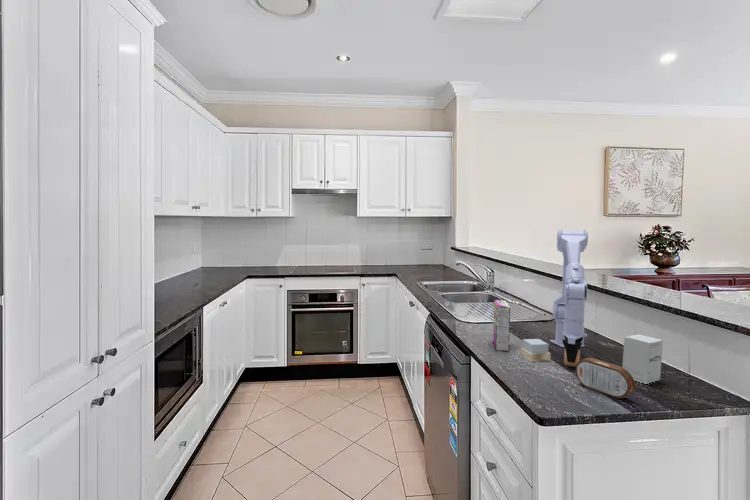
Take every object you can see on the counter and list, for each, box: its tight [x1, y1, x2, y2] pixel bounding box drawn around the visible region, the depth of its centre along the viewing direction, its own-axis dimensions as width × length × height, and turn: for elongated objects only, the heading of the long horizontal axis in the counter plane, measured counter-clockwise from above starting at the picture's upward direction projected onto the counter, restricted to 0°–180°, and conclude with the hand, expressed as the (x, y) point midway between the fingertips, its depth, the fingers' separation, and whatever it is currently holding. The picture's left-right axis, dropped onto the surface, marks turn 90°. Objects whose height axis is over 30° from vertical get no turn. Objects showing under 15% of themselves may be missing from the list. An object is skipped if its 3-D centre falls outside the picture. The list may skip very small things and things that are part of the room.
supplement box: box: [621, 333, 664, 385], centre depth 120 cm, size 7×7×13 cm
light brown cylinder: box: [563, 349, 581, 368], centre depth 132 cm, size 4×4×5 cm
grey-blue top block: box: [521, 338, 550, 353], centre depth 137 cm, size 6×6×3 cm
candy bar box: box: [492, 299, 511, 352], centre depth 149 cm, size 11×5×16 cm, turn 168°
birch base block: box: [520, 347, 552, 363], centre depth 138 cm, size 7×7×3 cm
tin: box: [575, 357, 636, 399], centre depth 110 cm, size 15×3×8 cm, turn 33°
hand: (571, 359), depth 132 cm, fingers closed on light brown cylinder, 4 cm apart
